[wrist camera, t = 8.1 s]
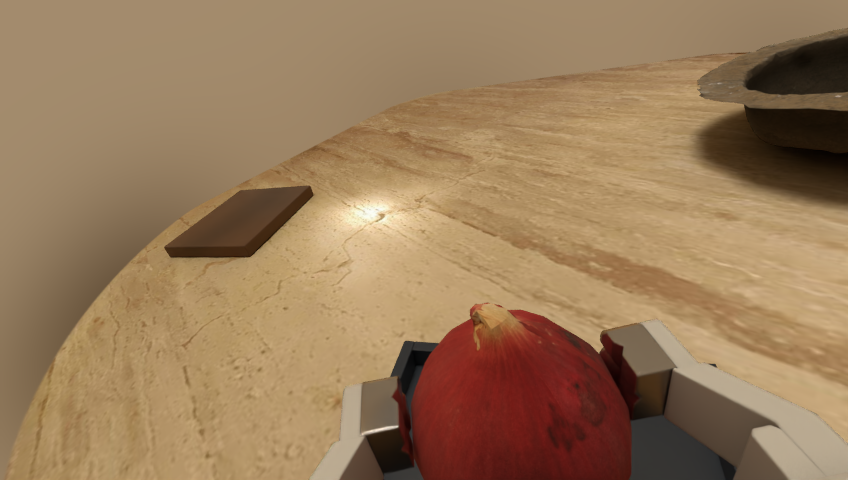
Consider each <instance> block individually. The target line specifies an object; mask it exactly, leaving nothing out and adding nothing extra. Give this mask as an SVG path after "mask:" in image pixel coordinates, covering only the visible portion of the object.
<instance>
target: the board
mask: <svg viewBox="0 0 848 480" xmlns="http://www.w3.org/2000/svg"><path fill="white" fill-rule="evenodd" d="M312 196H313V192H312V189H311V187H310V186H297V187H283V188H268V189H254V190H240V191H239V192H238V193H236V194H235V195H234V196H232V197H231V198H230V199H228V200H227V201H225V202H224V203H223V204H221V205H220V206H219V207H217V208H216V209H215V210H213V211H212V212H211V213H209V214H208V215H207V216H205V217H204V218H203V219H201V220H200V221H199V222H197V223H196V224H194V225H193V226H192V227H190V228H189V229H188V230H186V231H185V232H184V233H182V234H181V235H180V236H178V237H177V238H176V239H174V240H173V241H172V242H170V243H169V244H168V245H166V246H165V247H164V248H165V250H166V251H167V253H168V254H169V256H170V257H250V256H251V255H252V254H253V253H254V252H255V251H256V250H257V249H258V248H259V247H260V246H261V245H262V244H263V243H264V242H265V241H266V240H267V239H269V238H270V237H271V236H272V235H273V234H274V233H275V232H276V231H277V230H278V229H279V228H280V227H281V226H282V225H283V224H284V223H285V222H286V221H287V220H288V219H289V218H290V217H291V216H292V215H293V214H294V213H295V212H296V211H297V210H298V209H299V208H300V207H301V206H302V205H303V204H304V203H305V202H306V201H307V200H309V199H310V198H311V197H312Z"/></svg>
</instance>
